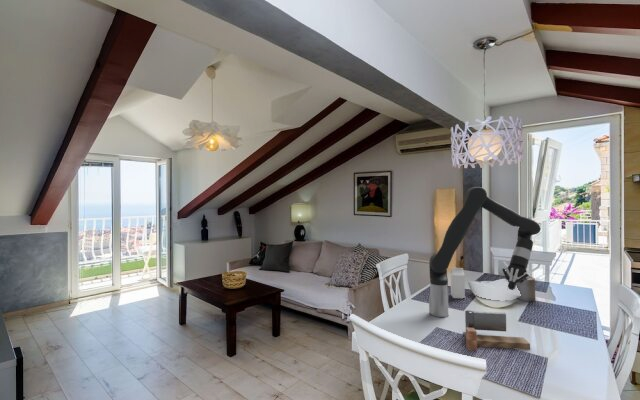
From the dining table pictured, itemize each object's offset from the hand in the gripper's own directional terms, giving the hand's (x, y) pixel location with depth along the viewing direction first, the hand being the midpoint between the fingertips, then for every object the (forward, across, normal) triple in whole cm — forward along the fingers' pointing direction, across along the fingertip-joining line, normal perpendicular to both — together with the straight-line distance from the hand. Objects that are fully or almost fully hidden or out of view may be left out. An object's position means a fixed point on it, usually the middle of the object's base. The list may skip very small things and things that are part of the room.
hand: (510, 289), depth 157 cm
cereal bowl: (-2, -32, +47) cm, 57 cm away
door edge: (+28, +6, -14) cm, 32 cm away
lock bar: (+26, +1, -11) cm, 28 cm away
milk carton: (+9, -42, +27) cm, 51 cm away
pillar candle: (-6, -15, +54) cm, 56 cm away
